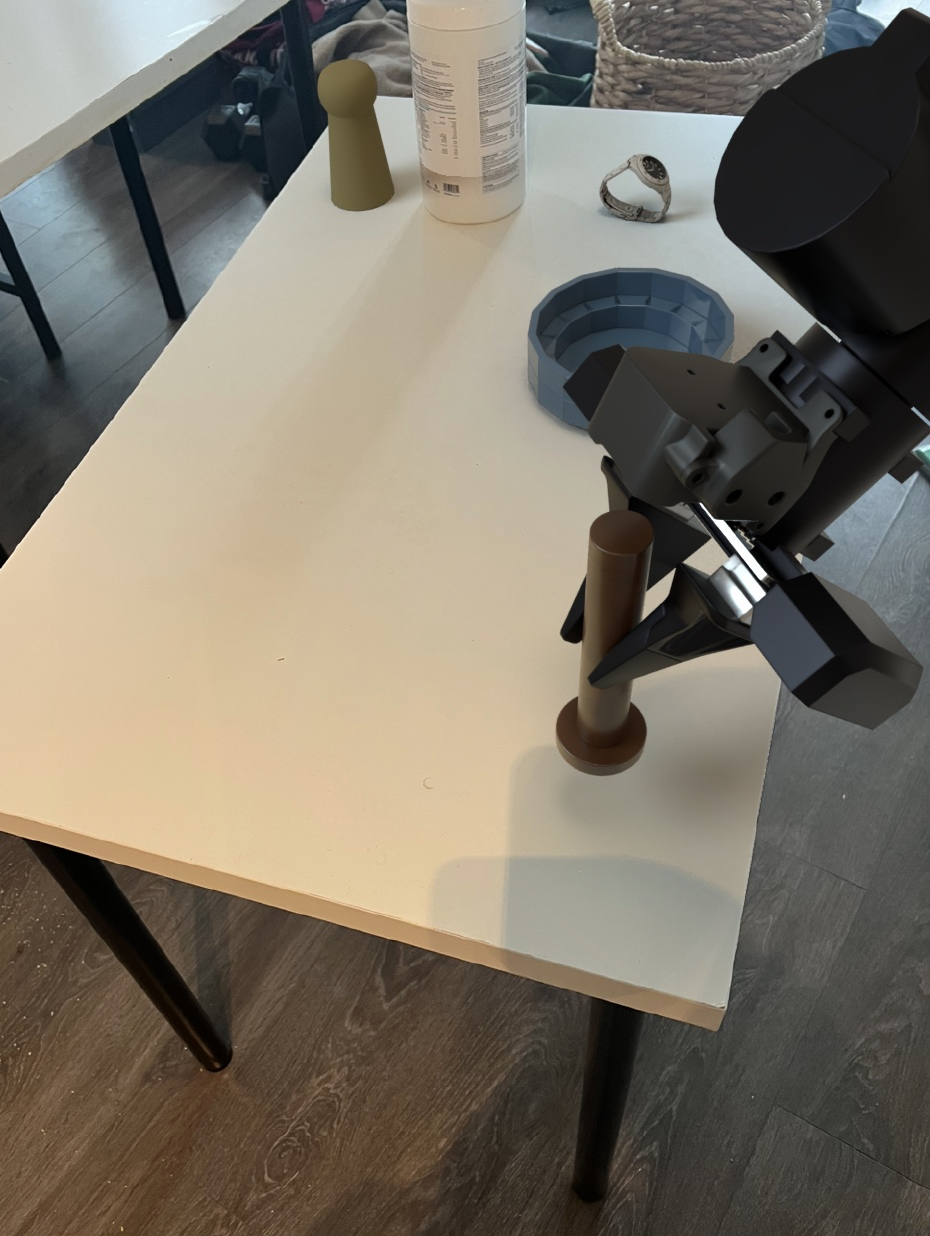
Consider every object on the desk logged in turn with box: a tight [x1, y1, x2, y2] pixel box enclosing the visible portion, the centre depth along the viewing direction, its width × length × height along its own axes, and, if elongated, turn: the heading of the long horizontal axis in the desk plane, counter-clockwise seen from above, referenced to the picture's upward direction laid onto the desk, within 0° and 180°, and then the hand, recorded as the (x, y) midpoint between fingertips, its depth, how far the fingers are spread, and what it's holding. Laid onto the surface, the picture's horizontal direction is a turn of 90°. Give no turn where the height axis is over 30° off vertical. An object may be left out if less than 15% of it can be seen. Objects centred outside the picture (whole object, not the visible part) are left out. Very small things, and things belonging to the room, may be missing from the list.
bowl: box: [527, 267, 735, 430], centre depth 71 cm, size 14×14×4 cm
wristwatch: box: [598, 153, 672, 224], centre depth 83 cm, size 4×6×5 cm, turn 64°
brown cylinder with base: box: [554, 510, 654, 777], centre depth 42 cm, size 4×4×14 cm
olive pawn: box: [317, 58, 395, 212], centre depth 87 cm, size 6×6×11 cm
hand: (580, 661), depth 42 cm, fingers closed on brown cylinder with base, 2 cm apart
